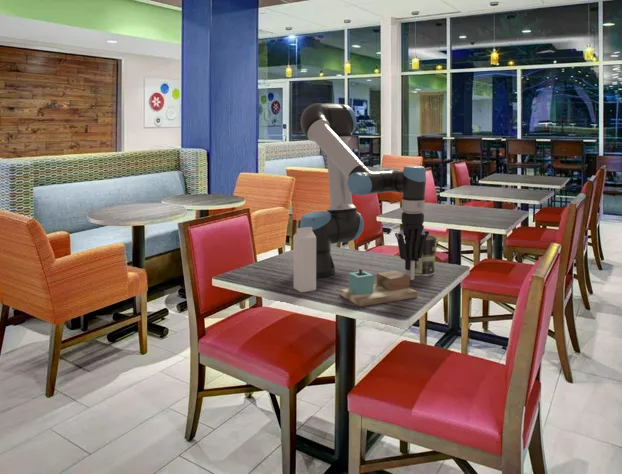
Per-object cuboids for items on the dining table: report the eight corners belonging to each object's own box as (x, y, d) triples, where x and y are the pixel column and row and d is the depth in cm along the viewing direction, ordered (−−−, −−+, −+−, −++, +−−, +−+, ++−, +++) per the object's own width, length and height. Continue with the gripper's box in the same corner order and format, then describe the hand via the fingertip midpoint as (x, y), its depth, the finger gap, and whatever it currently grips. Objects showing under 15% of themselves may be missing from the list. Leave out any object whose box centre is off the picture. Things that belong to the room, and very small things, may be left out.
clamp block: (376, 284, 189) (377, 273, 188) (396, 281, 193) (396, 270, 192) (389, 290, 182) (390, 279, 181) (409, 287, 186) (409, 276, 185)
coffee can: (434, 270, 216) (436, 235, 213) (434, 277, 206) (436, 240, 203) (408, 268, 218) (409, 234, 215) (407, 275, 208) (408, 239, 205)
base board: (340, 295, 184) (340, 267, 182) (395, 286, 194) (395, 260, 192) (360, 306, 173) (360, 277, 171) (417, 297, 182) (418, 269, 180)
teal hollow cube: (348, 290, 183) (348, 272, 182) (363, 287, 185) (364, 270, 184) (357, 295, 178) (358, 277, 176) (373, 292, 180) (373, 275, 179)
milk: (293, 288, 192) (292, 226, 188) (308, 285, 195) (308, 225, 191) (301, 292, 187) (300, 229, 183) (316, 290, 190) (316, 227, 185)
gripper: (403, 214, 179) (401, 283, 184) (435, 212, 185) (432, 279, 190) (390, 211, 186) (388, 278, 191) (421, 209, 192) (418, 273, 196)
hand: (410, 278), depth 190 cm, fingers closed
